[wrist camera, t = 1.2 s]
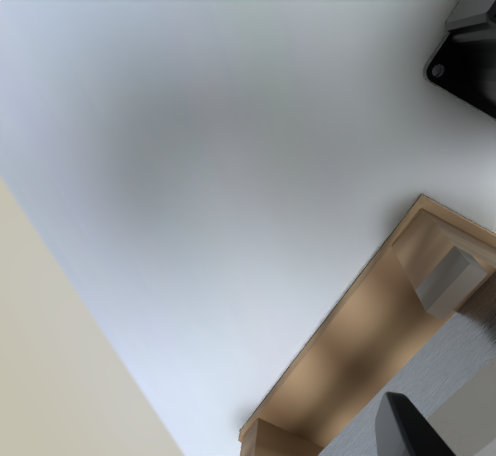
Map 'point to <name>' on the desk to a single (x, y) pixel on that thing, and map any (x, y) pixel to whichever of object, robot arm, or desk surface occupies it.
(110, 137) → the desk surface
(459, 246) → the standards
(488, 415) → the rail
